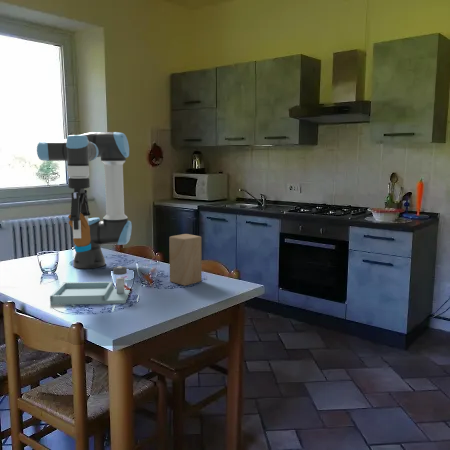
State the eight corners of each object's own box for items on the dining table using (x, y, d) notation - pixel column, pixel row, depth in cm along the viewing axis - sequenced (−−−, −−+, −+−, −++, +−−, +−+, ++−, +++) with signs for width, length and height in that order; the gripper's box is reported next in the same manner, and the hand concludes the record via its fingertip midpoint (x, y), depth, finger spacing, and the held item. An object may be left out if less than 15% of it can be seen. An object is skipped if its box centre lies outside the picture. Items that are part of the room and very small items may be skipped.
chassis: (64, 290, 183) (63, 273, 182) (131, 289, 185) (131, 272, 184) (50, 304, 165) (49, 286, 164) (125, 303, 167) (124, 285, 166)
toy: (81, 245, 179) (80, 207, 177) (97, 246, 178) (96, 208, 175) (65, 252, 167) (63, 211, 165) (82, 253, 166) (80, 212, 164)
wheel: (114, 271, 177) (114, 265, 177) (127, 271, 177) (127, 265, 177) (112, 274, 172) (112, 268, 172) (125, 274, 172) (125, 268, 172)
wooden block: (169, 281, 196) (168, 236, 193) (186, 277, 204) (186, 233, 201) (184, 286, 190) (184, 239, 187) (202, 281, 197) (201, 236, 194)
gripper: (76, 175, 179) (78, 230, 183) (59, 179, 156) (62, 241, 159) (95, 176, 180) (97, 230, 183) (81, 179, 157) (84, 241, 160)
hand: (81, 235), depth 171 cm, fingers closed on toy, 11 cm apart
